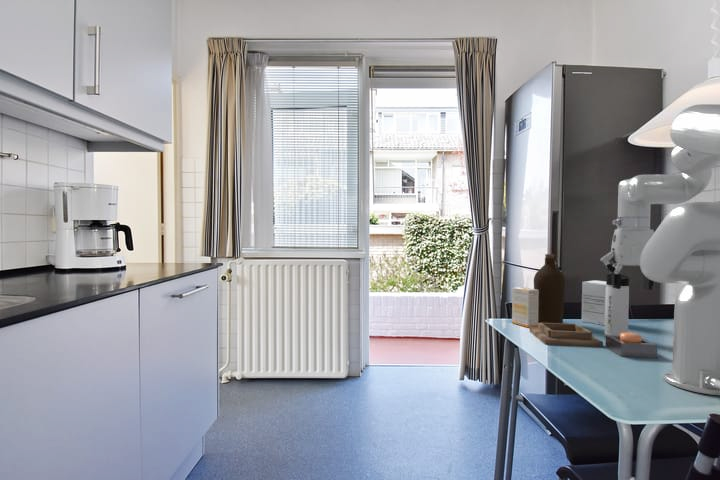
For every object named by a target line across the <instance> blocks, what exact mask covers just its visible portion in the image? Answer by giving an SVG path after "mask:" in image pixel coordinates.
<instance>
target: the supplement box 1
mask: <svg viewBox="0 0 720 480" xmlns="http://www.w3.org/2000/svg"><path fill="white" fill-rule="evenodd" d="M511 291H512V292H511V295H512V298H511V300H512V301H511V306H512V307H511V323H512V324H513V323H514V324H515V325H517V324H518V326H521V325H522V326H521V327H524V326H525V327H524V328H528V327H538V296H539V290H537V289H534V288H530V287H524V286H523V287H522V286H518V287H512V288H511Z"/></svg>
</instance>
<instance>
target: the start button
mask: <svg viewBox="0 0 720 480" xmlns="http://www.w3.org/2000/svg"><path fill="white" fill-rule="evenodd" d="M641 338H643V337H642V335H641V334H640V333H634V332H629V331H628V332H621V333H620V340H621V341H623V342H633V343H641Z"/></svg>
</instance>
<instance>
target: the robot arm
mask: <svg viewBox="0 0 720 480" xmlns="http://www.w3.org/2000/svg"><path fill="white" fill-rule="evenodd" d="M669 134H670V135H669V136H670V139H671V141H672V142H673V144H674V145H675V146H674V147H672V150H671V154H670V157H671V161H672V164H673V166H674V167H675V168H676V169H677V170H678V171H679V172H681V173H678V174H658V173H657V174H637V175H635V176H633V177H632V178H627V179H623V180H621V181H619V183H618V186H617V187H618V188H617V189H618V190H617V192H618V195H617V217H616V219H613V220H612V225H614V226H616V228H615V229H614V232H613V236H612V241H611V247H610V248H611V249H610V251H609V252H608V253H606V254H605V255H604V256H602V257H601V258H600V259H599V260H600V262H601V263H602V264H603V266H604V268H606V269H607V271H609V273H610V274H612V277H611V284H612V285H613V288H616V289H620V288H621V275H622V274H620V272H621V270H622V269H623V267H625V266H630V267H631V266H634V267H640V270H641V273H642V274H643V275H642V276H643V277H642V278H643V279H642V280H643V282H642V288H643V289H645V290H649V291H650V290H653V286H654V282H655V283H662V284H663V283H664V284H683V286H682V287H681V289H679V292H678V294H677V295H676V297H675V300H674V301H675V302H674V312H673V313H674V314H673V316H674V317H673V342H672V346H673V348H672V370H668V371H665V372H664V373H663V379H664V381H665V382H666V383H668V384H670V385H672V386H675V387H677V388H679V389H682V390H686V391H689V392H690V391H691V392H693V393H694V392H695V393H700V394H705V395H711V396H712V395H713V396H720V200H717V201H690V200H691V199H693V198H695V197H696V196H698V195H700V194H701V193H702V192H703V191H704V190H706V188H707V187H708V186H709V184H710V181H711V178H712V174H713V171H712V170H713V168H714V167H715V166H717V165H718V164H720V104H718V103H717V104H714V103H713V104H710V103H709V104H707V103H706V104H693V105H691V106H689V107H686V108H684V109H683V110H681V112H679V113H678V114H677V116H675V118H674V120H673V121H672V123H671V126H670V130H669ZM689 201H690V202H689ZM651 205H676V206H675V207H674V208H672V209H671V210H670V211H669V212H668V213H667V214H666V215H665V217H664V219H663V220H662V221H661V223H660V224H659V225H658V226H657V228H656V230H655V231H654V229H651V207H652V206H651ZM610 262H611V263H612V264H613V265H612V264H611V263H610Z"/></svg>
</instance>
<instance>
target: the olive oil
mask: <svg viewBox="0 0 720 480" xmlns="http://www.w3.org/2000/svg"><path fill="white" fill-rule="evenodd" d="M544 256H545V257H544V264H543V266H542V267H540V269H538V270H537V272H536V273H535V274H534V277H533V289H537V290H539V296H538V323H539V322H540V323H564V308H565V307H564V306H565V294H566V285H567V283H566V278H565V275H564V273H563V272H562V271H561V270H560V269H559V268H558V267H557V266H556V264H555V263H556V258H555V256H556V255H555V253H554V254H553V253H545V255H544Z"/></svg>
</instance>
